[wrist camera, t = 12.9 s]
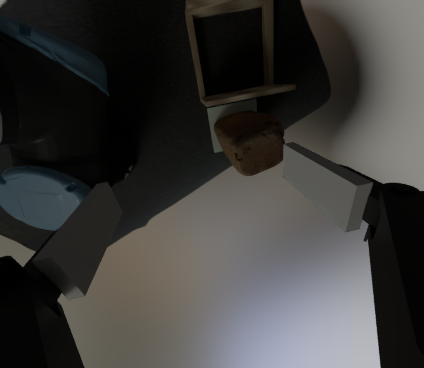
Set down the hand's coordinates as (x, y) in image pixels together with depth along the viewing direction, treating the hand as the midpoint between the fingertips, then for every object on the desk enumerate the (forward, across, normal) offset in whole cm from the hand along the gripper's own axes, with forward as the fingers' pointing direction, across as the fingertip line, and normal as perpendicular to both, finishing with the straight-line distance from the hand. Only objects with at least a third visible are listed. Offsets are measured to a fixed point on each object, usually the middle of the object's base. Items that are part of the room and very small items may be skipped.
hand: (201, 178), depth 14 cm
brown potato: (+34, +11, -5) cm, 36 cm away
